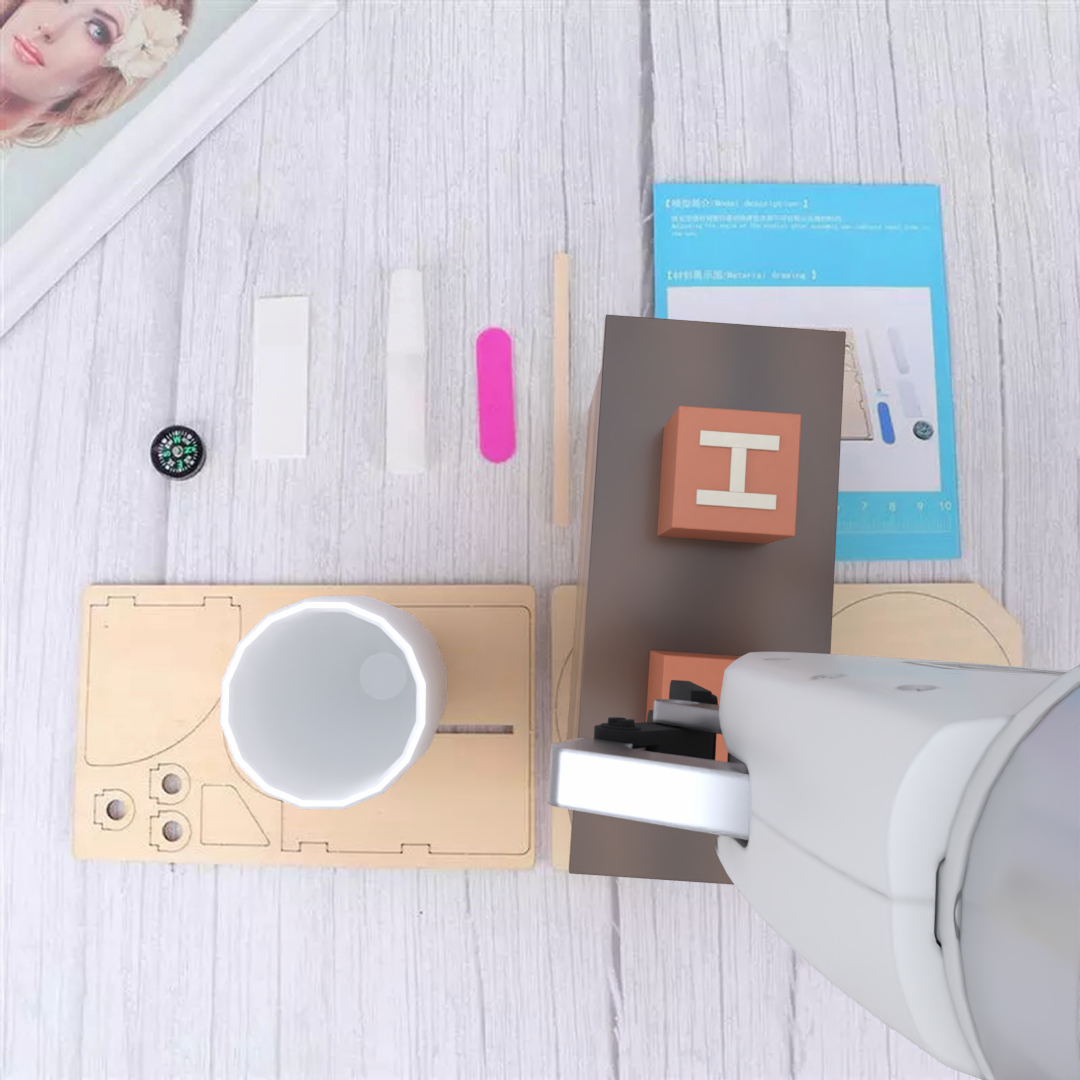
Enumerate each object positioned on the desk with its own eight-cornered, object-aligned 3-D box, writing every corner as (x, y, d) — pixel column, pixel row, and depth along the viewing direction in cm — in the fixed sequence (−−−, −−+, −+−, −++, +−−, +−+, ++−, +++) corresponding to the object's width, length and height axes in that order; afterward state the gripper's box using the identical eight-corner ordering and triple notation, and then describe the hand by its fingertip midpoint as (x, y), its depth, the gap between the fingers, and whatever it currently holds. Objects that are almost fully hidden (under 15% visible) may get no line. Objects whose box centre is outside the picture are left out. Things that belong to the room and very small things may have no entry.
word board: (842, 335, 45) (846, 331, 44) (815, 886, 43) (819, 890, 42) (604, 317, 45) (605, 314, 44) (568, 870, 43) (568, 873, 42)
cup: (368, 780, 65) (288, 866, 43) (284, 650, 65) (164, 670, 44) (498, 694, 65) (483, 736, 44) (414, 565, 66) (359, 544, 44)
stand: (731, 424, 67) (831, 334, 45) (710, 792, 65) (804, 886, 43) (587, 414, 67) (615, 318, 45) (562, 782, 65) (579, 870, 43)
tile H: (773, 433, 44) (803, 412, 39) (768, 544, 43) (797, 536, 39) (663, 426, 44) (680, 404, 39) (656, 536, 43) (672, 527, 39)
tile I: (762, 657, 43) (790, 663, 38) (756, 771, 43) (784, 791, 38) (650, 650, 43) (664, 654, 38) (643, 763, 43) (657, 782, 38)
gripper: (2079, 678, 11) (1146, 635, 28) (577, 579, 11) (554, 596, 28) (2111, 1368, 11) (1140, 898, 28) (534, 1259, 11) (537, 858, 28)
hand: (844, 746), depth 28 cm, fingers open, 9 cm apart
